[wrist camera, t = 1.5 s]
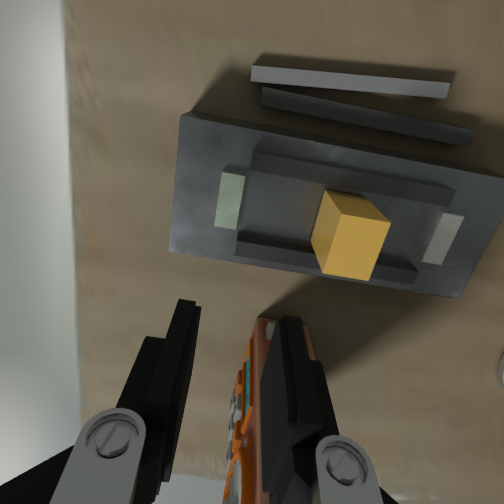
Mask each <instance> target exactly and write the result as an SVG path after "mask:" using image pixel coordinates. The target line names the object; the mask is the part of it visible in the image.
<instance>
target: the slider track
mask: <svg viewBox="0 0 504 504" xmlns="http://www.w3.org/2000/svg"><path fill="white" fill-rule="evenodd" d="M325 190H330V191H335V192H341V193H346V194H351V195H357V196H362V197H366V198H367V199H368V200H369V201H370V202H371V203H372V204H373V205H374V206H375V207H376V208H377V209H378V210H379V211H380V212H381V213H382V214H383V215H384V216H385V217H386V218H387V219H388V220H389V221H390V222H391V224H390V227H389V230H388V232H387V235H386V237H385V240H384V242H383V245H382V247H381V250H380V253H379V255H378V258H377V260H376V263H375V265H374V268H373V271H372V273H371V276H370V278H369V281H366V280H360V279H354V278H347V277H341V276H335V275H329V274H323V273H322V270H321V268H320V265H319V262H318V260H317V257H316V254H315V251H314V249H313V246H312V243H311V241H310V240H311V237H312V233H313V230H314V226H315V223H316V219H317V216H318V212H319V209H320V205H321V202H322V198H323V195H324V191H325ZM503 215H504V175H501V174H498V173H495V172H493V171H490V170H487V169H483V168H478V167H473V166H468V165H463V164H458V163H453V162H447V161H442V160H437V159H432V158H427V157H422V156H417V155H412V154H407V153H402V152H397V151H392V150H387V149H382V148H377V147H372V146H366V145H361V144H356V143H351V142H346V141H341V140H336V139H331V138H326V137H321V136H316V135H311V134H306V133H301V132H296V131H290V130H285V129H280V128H275V127H270V126H265V125H260V124H255V123H250V122H245V121H240V120H235V119H230V118H225V117H220V116H214V115H209V114H204V113H199V112H194V111H189V112H187V113H185V114H182V115H181V116H180V128H179V139H178V150H177V162H176V173H175V185H174V196H173V207H172V219H171V230H170V242H169V252H175V253H181V254H187V255H193V256H199V257H205V258H211V259H217V260H223V261H230V262H236V263H242V264H248V265H254V266H260V267H266V268H272V269H278V270H285V271H291V272H297V273H303V274H309V275H315V276H321V277H327V278H333V279H340V280H346V281H352V282H358V283H364V284H370V285H376V286H382V287H388V288H395V289H401V290H407V291H413V292H419V293H425V294H431V295H437V296H443V297H450V298H456V299H459V297H460V295H461V293H462V291H463V290H464V288H465V286H466V284H467V282H468V280H469V279H470V277H471V275H472V273H473V271H474V269H475V267H476V266H477V264H478V262H479V260H480V258H481V256H482V254H483V253H484V251H485V249H486V247H487V245H488V243H489V241H490V240H491V238H492V236H493V234H494V232H495V230H496V228H497V227H498V225H499V223H500V221H501V219H502V217H503Z"/></svg>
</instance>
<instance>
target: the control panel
mask: <svg viewBox="0 0 504 504" xmlns="http://www.w3.org/2000/svg"><path fill="white" fill-rule="evenodd" d="M275 323H276V320H273V319H267V318H262V317H257V319H256V321H255V325H254V328H253V332H252V335H251V339H250V341H249V344H248V348H247V351H246V355H245V358H244V362H243V367H242V370H239V372H238V375H237V378H236V382H235V389H234V390H233V393H232V396H231V400H230V411H229V414H230V415H231V418H230V422H229V425H228V441H229V442H230V443H229V447H228V450H227V454H226V469H225V470H226V472H227V473H228V475H227V480H226V485H225V490H224V496H223V502H222V504H269V493H263V489H262V454H261V414H260V380H261V375H262V372H263V368H264V364H265V360H266V357H267V353H268V349H269V345H270V342H271V338H272V334H273V331H274V327H275ZM303 329H304V334H305V339H306V343H307V348H308V353H309V358H310V360H315V356H314V352H313V347H312V343H311V338H310V334H309V330H308V327H307V326H305V325H303Z"/></svg>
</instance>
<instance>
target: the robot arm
mask: <svg viewBox="0 0 504 504" xmlns="http://www.w3.org/2000/svg"><path fill="white" fill-rule="evenodd" d="M195 305H196V301H190V300H184V299H179V300H178V303H177V306H176V308H175V311H174V314H173V317H172V320H171V323H170V326H169V329H168V332H167V335H166V338H165V339H164V338H157V337H150V336H146V337H145V339H144V341H143V344H142V346H141V348H140V351H139V353H138V355H137V358H136V360H135V363H134V365H133V367H132V370H131V372H130V374H129V377H128V379H127V382H126V384H125V386H124V389H123V391H122V394H121V396H120V398H119V401H118V403H117V405H116V408H112V409H108V410H105V411H102V412H100V413H98V414H97V415H95V416H93V417H92V418H91V419H90V420H89V421H88V422H87V423H86V424H85V425H84V427H83V428H82V430H81V432H80V434H79V436H78V438H77V441H76V443H75V445H73V446H71V447H69V448H68V449H66V450H64V451H62V452H60V453H58V454H57V455H55V456H53V457H51V458H49V459H48V460H46V461H44V462H42V463H40V464H39V465H37V466H35V467H33V468H31V469H30V470H28V471H26V472H24V473H22V474H21V475H19V476H17V477H15V478H13V479H12V480H10V481H8V482H6V483H4V484H3V485H1V486H0V504H151V503H153V502H154V501H155V497H156V495H158V494H159V490H160V486H161V482H169V480H170V476H171V471H172V466H173V461H174V457H175V452H176V447H177V442H178V437H179V432H180V428H181V423H182V418H183V413H184V408H185V404H186V399H187V394H188V389H189V384H190V379H191V374H192V368H193V362H194V355H195V348H196V341H197V334H198V328H199V321H200V314H201V307H200V306H195ZM498 372H499V379H500V382H501V384H502V385H503V387H504V354H503V356H502V358H501V360H500V364H499V369H498ZM260 414H261V454H262V489H263V493H269V504H398V503H397V502H396V501H395V500H394V499H393V498H392V497H391V496H389V495H388V494H387V493H386V492H385V491H384V490H383V489H382V488H381V487H379V485H378V481H377V477H376V473H375V470H374V466H373V464H372V462H371V459H370V457H369V456H368V455H367V453H366V452H365V450H364V449H363V448H362V447H360V446H359V445H358V444H357V443H356V442H354V441H352V440H351V439H349V438H347V437H344V436H340V435H339V431H338V427H337V423H336V419H335V414H334V410H333V406H332V402H331V398H330V394H329V390H328V386H327V382H326V378H325V374H324V370H323V366H322V364H321V362H320V361H317V360H310V358H309V353H308V348H307V343H306V339H305V334H304V329H303V324H302V320H301V318H300V317H295V316H288V315H284V316H283V318H282V319H279V318H277V320H276V323H275V327H274V331H273V334H272V338H271V342H270V345H269V349H268V353H267V357H266V360H265V364H264V368H263V372H262V375H261V380H260Z"/></svg>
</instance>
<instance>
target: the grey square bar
mask: <svg viewBox="0 0 504 504" xmlns="http://www.w3.org/2000/svg"><path fill="white" fill-rule="evenodd" d="M251 82H263V83H274V84H285V85H297V86H308V87H319V88H331V89H342V90H353V91H365V92H376V93H387V94H399V95H410V96H421V97H433V98H444V99H446V97H447V93H448V90H449V87H450V83H444V82H433V81H422V80H411V79H399V78H388V77H377V76H366V75H355V74H344V73H333V72H322V71H310V70H299V69H288V68H277V67H266V66H255V65H252V68H251Z"/></svg>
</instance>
